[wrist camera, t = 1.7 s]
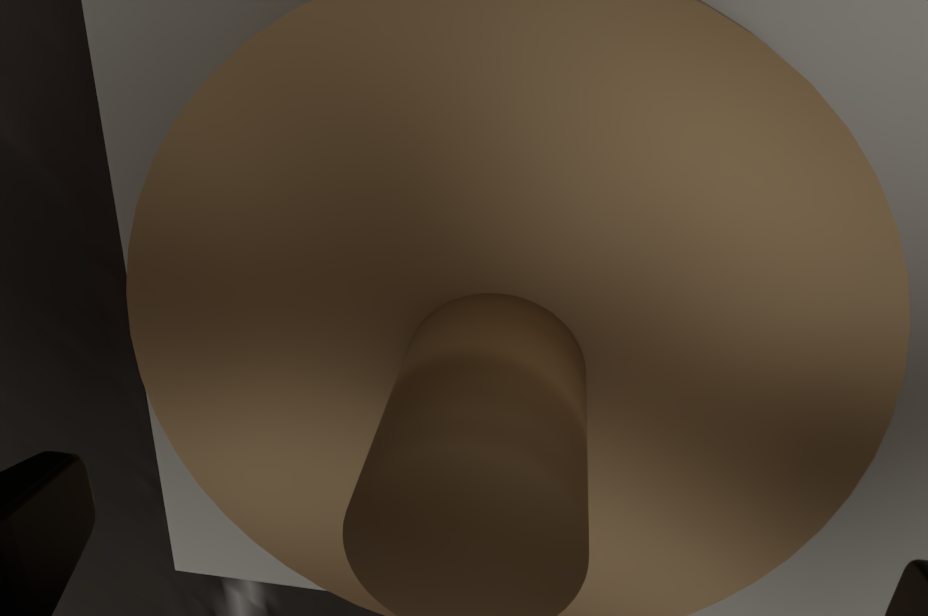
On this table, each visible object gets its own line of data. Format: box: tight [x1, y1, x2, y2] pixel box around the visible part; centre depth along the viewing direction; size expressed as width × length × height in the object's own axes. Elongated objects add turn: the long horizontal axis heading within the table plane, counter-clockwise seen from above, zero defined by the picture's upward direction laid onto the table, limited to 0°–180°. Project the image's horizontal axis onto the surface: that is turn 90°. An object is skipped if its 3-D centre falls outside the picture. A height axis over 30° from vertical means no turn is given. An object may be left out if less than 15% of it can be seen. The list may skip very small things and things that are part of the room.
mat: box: [81, 0, 928, 616], centre depth 12 cm, size 12×20×1 cm, turn 87°
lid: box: [126, 0, 910, 616], centre depth 10 cm, size 11×11×4 cm
